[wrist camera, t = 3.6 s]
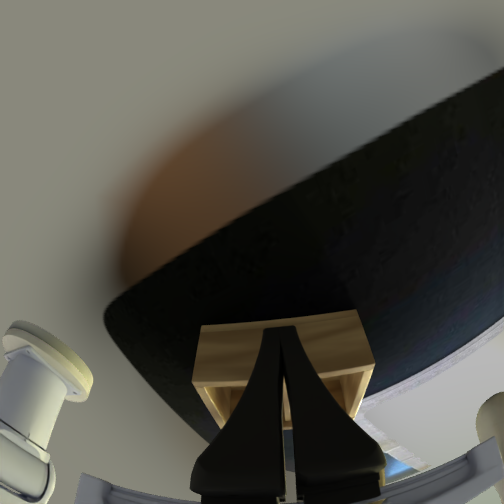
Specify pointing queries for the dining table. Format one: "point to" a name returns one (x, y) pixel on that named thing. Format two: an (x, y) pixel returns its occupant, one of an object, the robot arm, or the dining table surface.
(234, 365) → the cutlery caddy
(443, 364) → the dining table surface
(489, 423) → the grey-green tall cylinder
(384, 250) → the dining table surface
